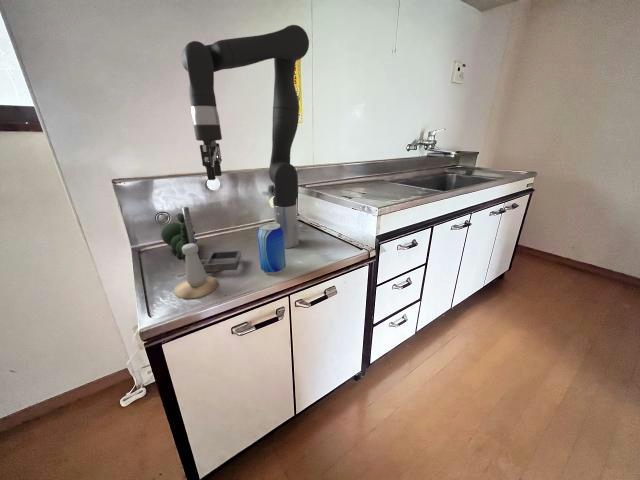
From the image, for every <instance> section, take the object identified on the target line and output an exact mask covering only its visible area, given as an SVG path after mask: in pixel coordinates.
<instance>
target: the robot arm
mask: <svg viewBox="0 0 640 480" xmlns="http://www.w3.org/2000/svg"><path fill="white" fill-rule="evenodd" d="M309 47H310V40H309V36H308V33H307V32H306V30H305V29H304V28H303V27H302V26H300V25H297V24H291V25H290V24H289V25H288V26H286V27H284V28H282V29H279V30H277V31H273V32H270V33H264V34H259V35H252V36H242V37H235V38H227V39H220V40H217V41H215V42H214V43H211V44H204V43H202V42H200V41H197V40H193V41H190V42H188V43H187V44H186V45H185V47H184V48H183V50H182V52H181V55H180V62H181V64H182V67H183V68H184V69H185V70H186V72H187V74H188V79H189V80H188V81H189V84H188V95H189V101H190V106H191V117H192V118H191V119H192V124H193V129H194V136H195V140H196V141H199V142H200V141H201V142H203V143H202V144H199V149H200V157H201V162H202V164H201V165H202V166H203V167H204V168H205V170H206V176H207V180H208V181H215V180H216V177H220V176H222V175H223V174H222V168H221V164H222V161H223V160H222V154H221V147H220V143H218V142H216V141H222V139H223V136H222V129H221V122H220V115H219V111H218V108H217V100H216V99H217V98H216V94H215V87H214V86H215V78H214V77H215V75H214V73H216V72H219V71H223V70H231V69H237V68H242V67H247V66H251V65H255V64H257V63H260V62H264V61H266V60H267V61H268V60H272V59H273V65H274V82H273V83H274V86H273V87H274V88H273V103H272V127H271V128H272V132H271V133H272V134H271V136H272V137H271V140H272V141H271V142H272V143H271V144H272V146H271V156H270V162H269V169H268V175H269V179H270V181H271V182H272V183H273V184H274V185H273V186H274V197H273V198H272V202H273V203H272V205H273V215H274V217H273V218H274V223H278V224H280V227H281V229H282V230H283V232H284V246H285V249H288V248H289V249H290V248H294V247H299V225H298V223H299V222H298V207H297V205H298V204H297V201H298V200H297V199H298V196H299V176H298V175H299V174H298V172H297V169H296V168H295V166H294V165H293V164H291V151H292V150H291V149H292V145H293V143H294V140H295V137H296V134H297V131H298V127H299V126H298V125H299V114H300V104H299V102H300V101H299V98H298V95H297V91H296V87H295V71H296V70H295V68H296V62H297V61H299V60H301V59H302V58H304V57H305V56H306V55H307V53H308V51H309Z"/></svg>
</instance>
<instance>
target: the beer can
mask: <svg viewBox="0 0 640 480" xmlns="http://www.w3.org/2000/svg"><path fill="white" fill-rule="evenodd" d="M256 235H257V243H258V244H257V245H258V253H259V261H260V262H259V263H260V269H261V271H263V273H264V274H266V275H269V276H274V275H279V274H281V273H283V272H284V270H285V268H286V265H287V264H286V263H287V262H286V261H287V260H286V248H285V246H284V232H283V230H282V229H281V227H280V224H278V223H275V222H266V223H262V224H260V225H259V229H258V231H257V234H256Z"/></svg>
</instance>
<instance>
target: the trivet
mask: <svg viewBox="0 0 640 480" xmlns="http://www.w3.org/2000/svg"><path fill="white" fill-rule="evenodd" d="M218 283H219V282H218V280H217V278H216V277H213V276H210V275H207V277H206V280H205V283H204V284H203V285H202V286H198V287H192V286H190V285H189V284H188V282H187V281H186V279H185V280H182V281H181V282H180V283H177V285H176V286H175V288H174V290H173V292H174V295H175V297H177V298H179V299H181V298H184V299H183V300H191V299H190V298H194V299H198V298H197V297H199V298H201V297H200V296H202V297H204V296H203V295H205V296H207V295H209V294H211V293H212V292H214V291H215V290H216V289H217V287H218ZM214 289H215V290H214ZM211 291H212V292H211ZM210 292H211V293H210ZM208 293H209V294H208ZM206 294H207V295H206Z"/></svg>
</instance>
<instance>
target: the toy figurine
mask: <svg viewBox="0 0 640 480" xmlns="http://www.w3.org/2000/svg"><path fill="white" fill-rule="evenodd" d="M176 218H177V220H178V221H179V222H171V223H167V224H166V225H165V226H164V227H163V229H162V231H161V234H160V235H161V239H162V241H163V242H164V243H165V244H166V245H167V246H170V248H171V249H170V250H171V251H170V252H171V253H172V254H174V255H175V256H176V258H178V259H182V260H186V255H185V254H183V252H182V247H183V246H184V245H186V244H190V243H189V238H188V233H187V229H186V224H185V219H184V215H183V213H182V212H181V213H180V212H179V213H177V214H176ZM192 227H193V228H194V225H192ZM193 232H194V236H195V235H196V231H194V230H193ZM195 242H196V243H197V242H198V239H197V238H195Z"/></svg>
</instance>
